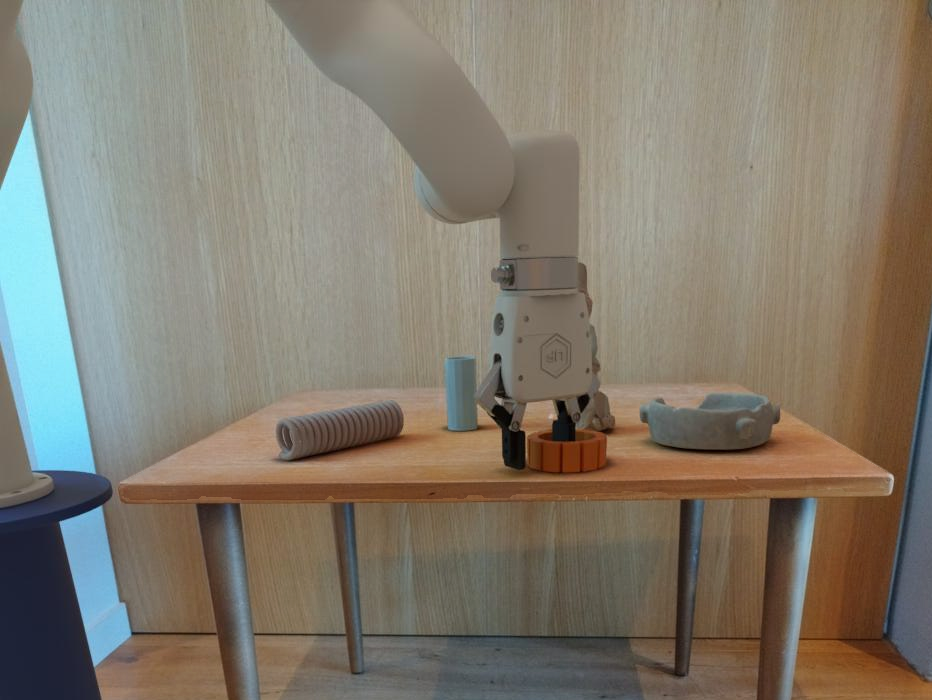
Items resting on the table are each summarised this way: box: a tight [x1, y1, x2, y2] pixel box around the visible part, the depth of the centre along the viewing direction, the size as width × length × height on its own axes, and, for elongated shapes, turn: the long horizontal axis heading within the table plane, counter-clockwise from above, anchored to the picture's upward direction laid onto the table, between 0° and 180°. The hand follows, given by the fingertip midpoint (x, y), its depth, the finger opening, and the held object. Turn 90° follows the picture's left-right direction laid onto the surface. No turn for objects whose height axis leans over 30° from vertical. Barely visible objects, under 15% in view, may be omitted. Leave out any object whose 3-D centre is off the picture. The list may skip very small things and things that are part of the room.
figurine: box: [576, 261, 617, 432], centre depth 105 cm, size 9×8×20 cm
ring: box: [526, 429, 608, 474], centre depth 91 cm, size 8×8×3 cm
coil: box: [275, 399, 405, 461], centre depth 103 cm, size 5×5×18 cm
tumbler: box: [444, 355, 479, 432], centre depth 112 cm, size 4×4×9 cm
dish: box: [639, 392, 781, 451], centre depth 99 cm, size 14×14×5 cm
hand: (539, 461), depth 90 cm, fingers open, 5 cm apart
